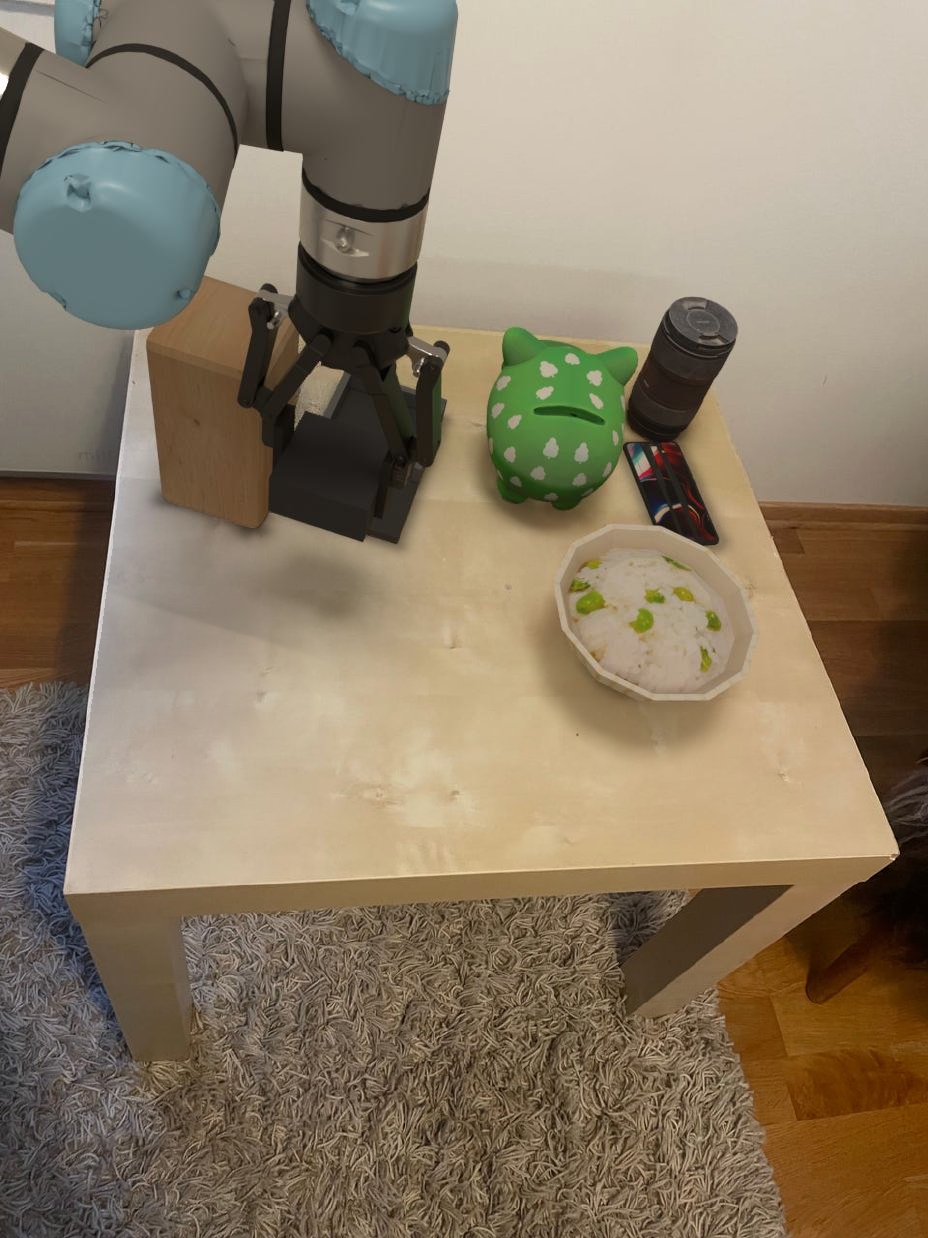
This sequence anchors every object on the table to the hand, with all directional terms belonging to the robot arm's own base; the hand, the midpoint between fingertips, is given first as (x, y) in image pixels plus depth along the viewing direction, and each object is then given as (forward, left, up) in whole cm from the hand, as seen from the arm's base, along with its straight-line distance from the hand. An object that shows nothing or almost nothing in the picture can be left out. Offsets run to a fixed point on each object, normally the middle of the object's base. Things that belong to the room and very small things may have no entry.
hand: (332, 489), depth 76 cm
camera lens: (+29, +36, -14) cm, 48 cm away
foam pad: (0, 0, 0) cm, 0 cm away
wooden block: (-12, +8, -14) cm, 20 cm away
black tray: (0, +17, -14) cm, 21 cm away
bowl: (+30, +2, -14) cm, 33 cm away
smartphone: (+32, +26, -14) cm, 44 cm away
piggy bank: (+17, +23, -14) cm, 32 cm away
